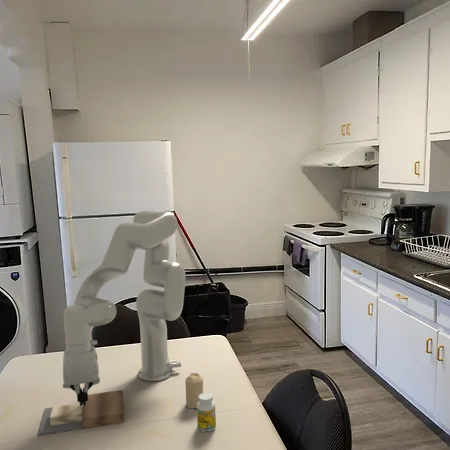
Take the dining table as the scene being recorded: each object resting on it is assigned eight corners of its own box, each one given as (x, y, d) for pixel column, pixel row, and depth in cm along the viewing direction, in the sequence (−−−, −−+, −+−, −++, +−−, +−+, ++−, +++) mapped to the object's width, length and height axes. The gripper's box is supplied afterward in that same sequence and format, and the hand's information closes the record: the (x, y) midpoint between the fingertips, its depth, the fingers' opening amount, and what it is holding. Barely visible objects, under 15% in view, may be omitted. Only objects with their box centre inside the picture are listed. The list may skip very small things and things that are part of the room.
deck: (123, 398, 144) (122, 389, 143) (124, 421, 130) (124, 412, 130) (85, 404, 141) (84, 395, 140) (82, 428, 127) (81, 419, 127)
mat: (85, 404, 141) (85, 402, 140) (82, 428, 127) (82, 427, 127) (45, 409, 138) (45, 408, 137) (38, 435, 124) (38, 434, 124)
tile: (83, 410, 136) (83, 402, 136) (82, 420, 130) (82, 413, 130) (53, 414, 134) (52, 407, 134) (50, 425, 128) (49, 417, 128)
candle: (190, 411, 135) (189, 380, 134) (183, 402, 140) (182, 373, 139) (206, 406, 138) (205, 376, 136) (199, 398, 143) (198, 369, 141)
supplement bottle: (218, 423, 128) (217, 393, 127) (211, 434, 123) (210, 402, 122) (202, 420, 130) (201, 390, 129) (194, 430, 125) (193, 399, 124)
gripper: (105, 338, 136) (108, 393, 139) (54, 344, 133) (58, 400, 135) (104, 347, 129) (108, 405, 132) (51, 354, 125) (55, 413, 128)
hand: (83, 403), depth 133 cm, fingers closed
